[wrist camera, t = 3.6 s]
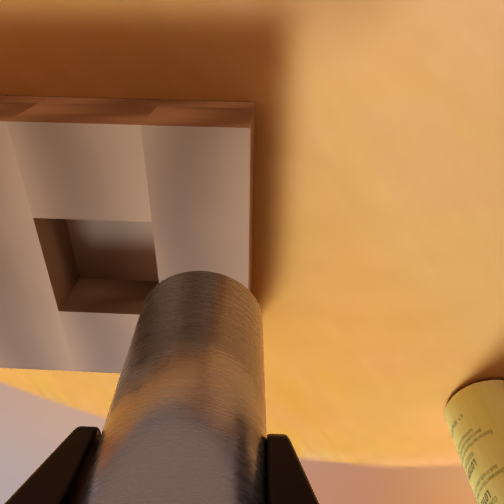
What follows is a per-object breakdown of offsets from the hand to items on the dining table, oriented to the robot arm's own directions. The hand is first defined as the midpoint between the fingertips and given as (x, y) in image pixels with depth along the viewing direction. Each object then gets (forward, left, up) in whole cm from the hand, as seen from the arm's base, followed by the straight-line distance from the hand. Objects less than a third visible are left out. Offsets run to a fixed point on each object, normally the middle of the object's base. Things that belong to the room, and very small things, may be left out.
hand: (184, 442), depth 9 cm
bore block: (+5, +2, -13) cm, 14 cm away
